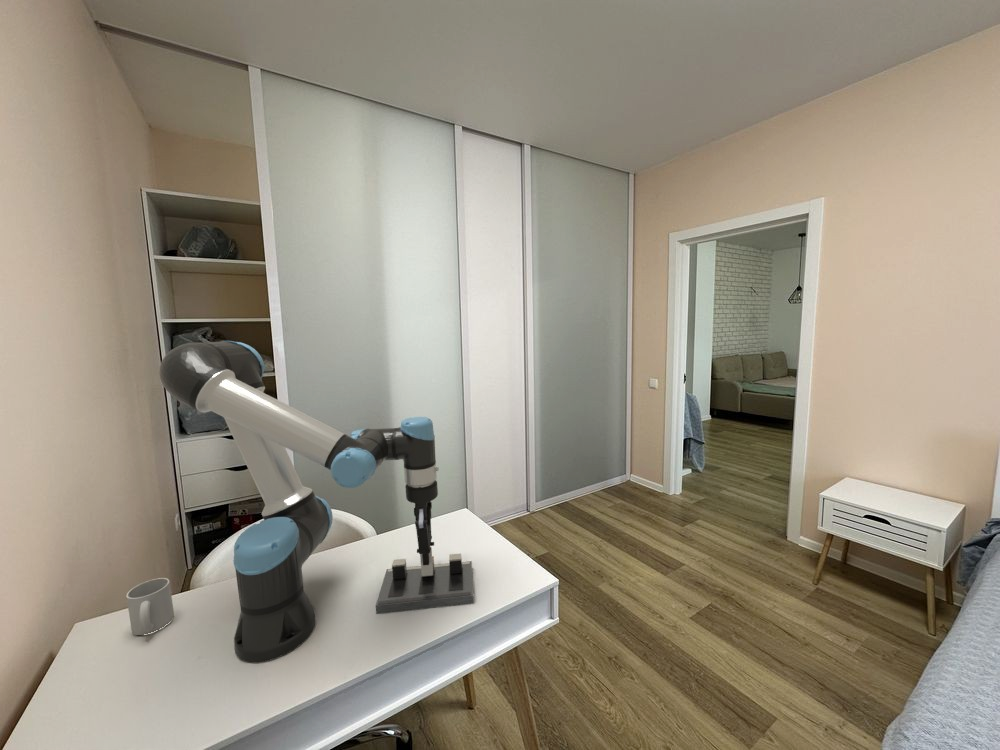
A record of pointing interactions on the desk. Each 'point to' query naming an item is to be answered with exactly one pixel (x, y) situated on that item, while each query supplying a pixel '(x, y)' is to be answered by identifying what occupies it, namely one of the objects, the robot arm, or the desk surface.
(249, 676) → the desk surface
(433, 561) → the toggle
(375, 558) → the desk surface
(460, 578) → the panel
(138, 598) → the cup
